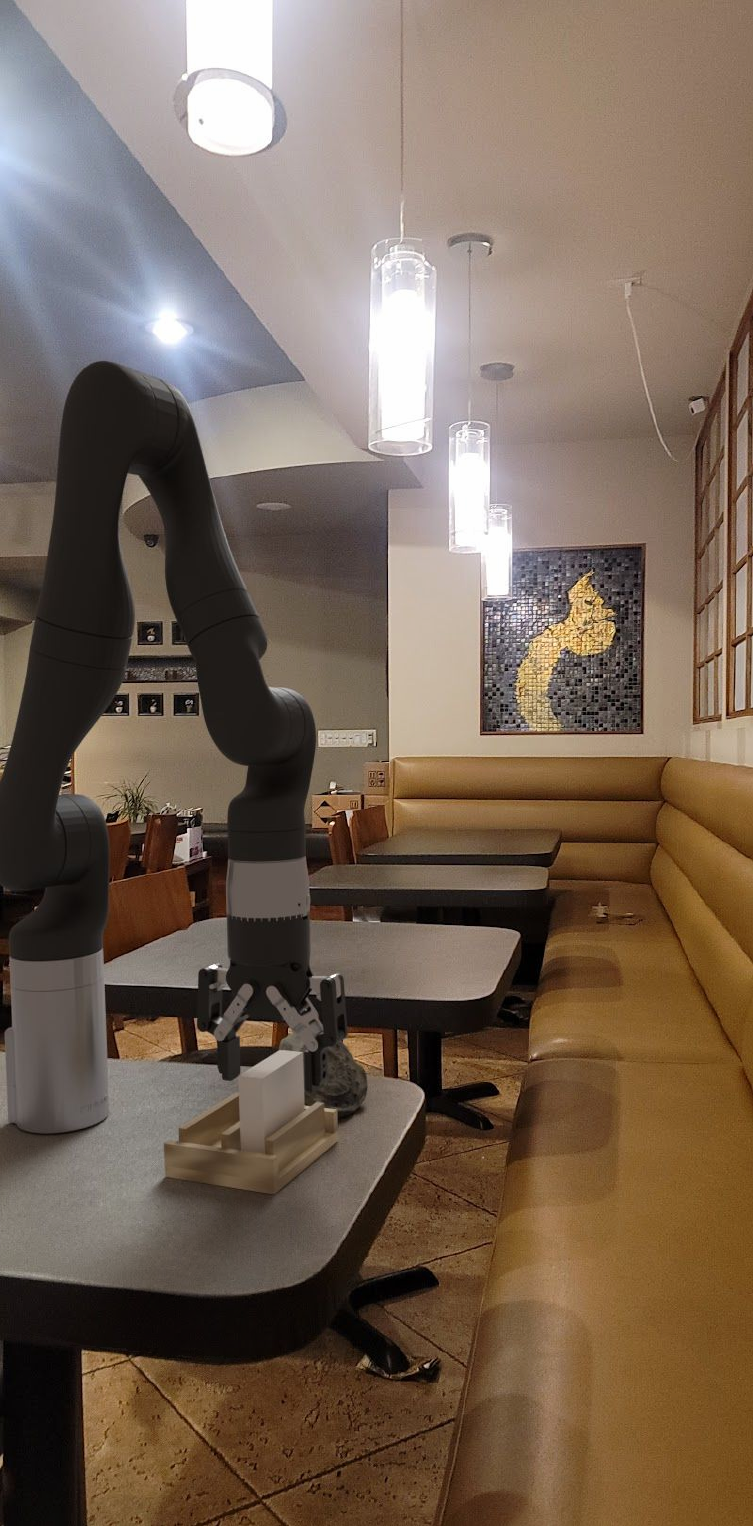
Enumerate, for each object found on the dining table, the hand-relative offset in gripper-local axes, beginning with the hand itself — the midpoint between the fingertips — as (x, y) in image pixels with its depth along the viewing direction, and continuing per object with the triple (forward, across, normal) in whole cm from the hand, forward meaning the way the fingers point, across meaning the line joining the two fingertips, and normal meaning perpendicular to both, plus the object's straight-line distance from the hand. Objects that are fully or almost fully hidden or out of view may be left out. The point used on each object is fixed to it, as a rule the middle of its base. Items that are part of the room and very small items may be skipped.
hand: (272, 1083), depth 98 cm
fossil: (+8, -2, +14) cm, 16 cm away
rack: (+7, -2, 0) cm, 7 cm away
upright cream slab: (+6, 0, 0) cm, 6 cm away
